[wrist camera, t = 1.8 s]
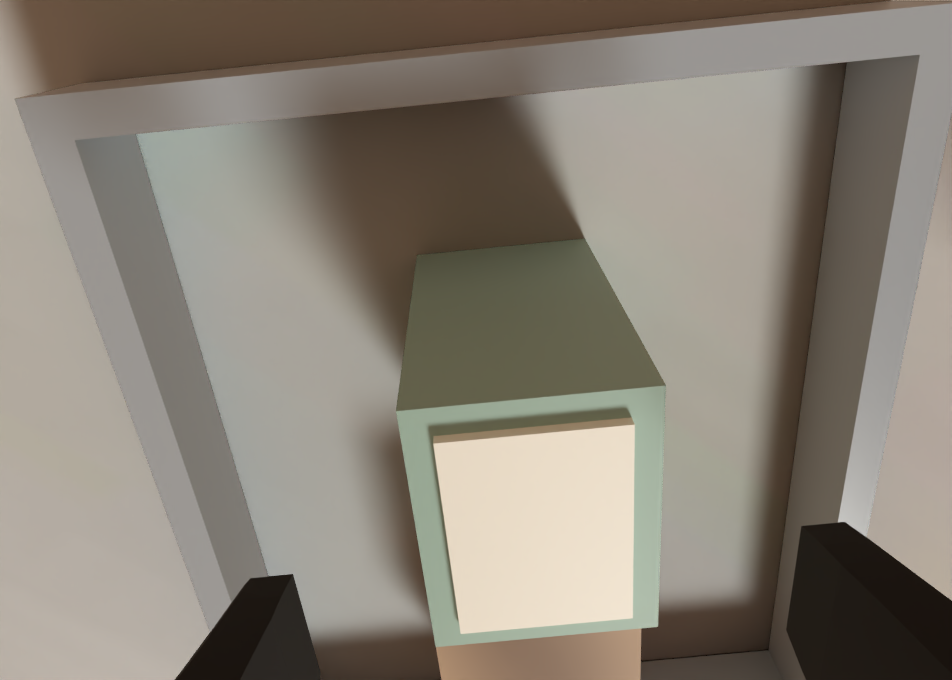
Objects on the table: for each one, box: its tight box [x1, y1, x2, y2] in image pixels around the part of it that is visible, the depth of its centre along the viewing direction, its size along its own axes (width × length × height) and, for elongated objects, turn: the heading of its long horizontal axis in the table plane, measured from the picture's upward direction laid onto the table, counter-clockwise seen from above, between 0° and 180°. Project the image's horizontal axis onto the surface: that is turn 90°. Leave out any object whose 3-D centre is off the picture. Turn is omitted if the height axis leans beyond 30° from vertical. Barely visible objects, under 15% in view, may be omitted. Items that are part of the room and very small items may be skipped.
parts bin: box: [15, 0, 952, 680], centre depth 18 cm, size 17×20×2 cm
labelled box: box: [396, 239, 666, 647], centre depth 14 cm, size 4×5×7 cm
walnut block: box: [436, 629, 641, 680], centre depth 20 cm, size 5×5×4 cm
